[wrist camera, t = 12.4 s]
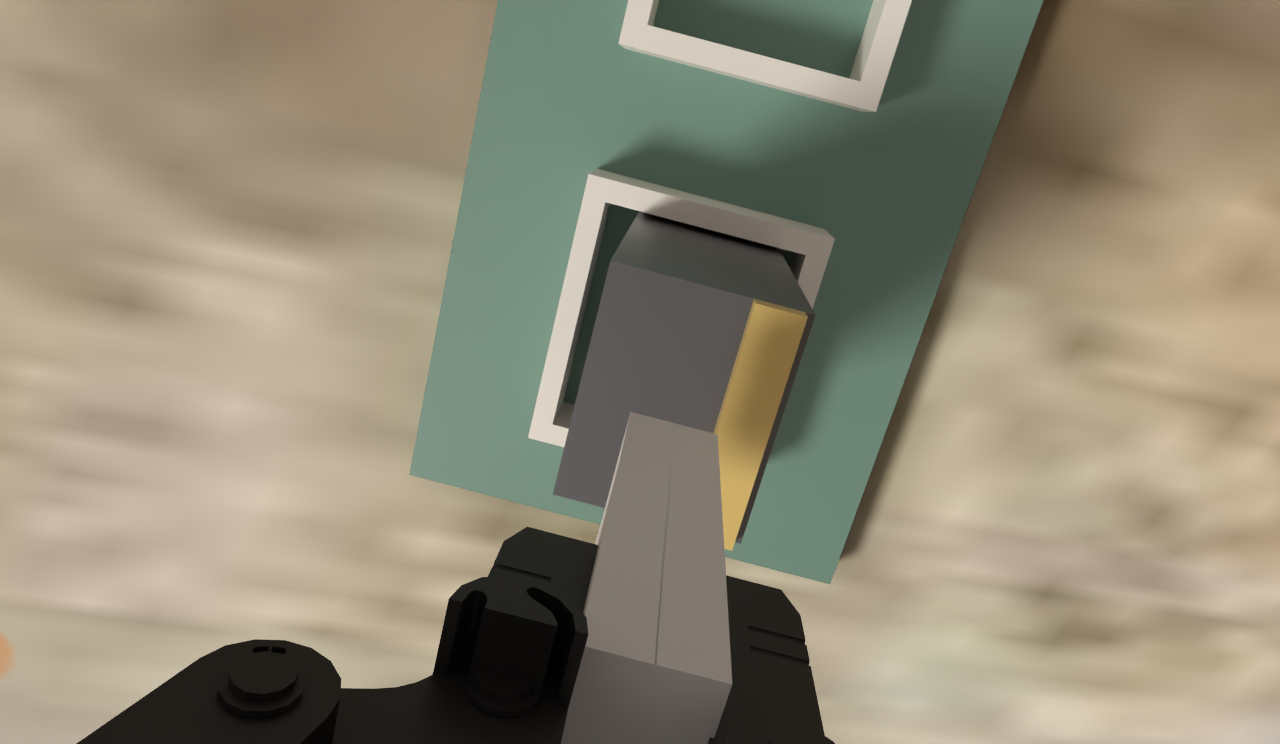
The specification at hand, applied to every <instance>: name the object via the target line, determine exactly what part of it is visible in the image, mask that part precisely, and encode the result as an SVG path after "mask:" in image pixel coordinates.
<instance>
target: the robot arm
mask: <svg viewBox="0 0 1280 744" xmlns="http://www.w3.org/2000/svg"><path fill="white" fill-rule="evenodd" d="M804 644H805V636H804V631H803V626H802V621H801V616H800V614H799V613H798V611H797V610H796V609H795V607H794V606H793V605H792V604H791V602H790V601H789V600H788V598H787V597H786V596H785V594H784V593H783V592H782V590H780V589H776V588H772V587H768V586H764V585H761V584H757V583H753V582H749V581H745V580H741V579H737V578H734V577H730V576H726V568H725V551H724V534H723V517H722V500H721V483H720V466H719V449H718V434H714V433H710V432H706V431H703V430H699V429H695V428H691V427H687V426H683V425H680V424H676V423H672V422H668V421H664V420H660V419H657V418H653V417H649V416H645V415H641V414H638V413H634V412H630V416H629V419H628V423H627V427H626V431H625V435H624V438H623V442H622V446H621V450H620V453H619V457H618V461H617V465H616V468H615V472H614V476H613V480H612V483H611V487H610V491H609V495H608V498H607V502H606V506H605V510H604V514H603V517H602V521H601V525H600V529H599V532H598V536H597V540H596V544H591V543H588V542H584V541H580V540H576V539H572V538H568V537H564V536H561V535H557V534H553V533H549V532H545V531H541V530H537V529H534V528H530V527H526V528H524V529H523V530H521V531H520V532H518V533H516V534H515V535H513V536H512V537H510V538H508V539H507V540H505V541H504V542H503V544H502V547H501V549H500V551H499V553H498V556H497V558H496V560H495V562H494V566H493V567H492V569H491V571H490V573H489V576H488V577H482V578H479V579H477V580H474V581H472V582H469V583H467V584H464V585H462V586H461V587H460V588H459V589H458V590H457V591H456V592H455V593H454V594H453V595H452V596H451V597H450V598H449V601H448V606H447V611H446V616H445V620H444V625H443V630H442V634H441V639H440V644H439V648H438V653H437V658H436V663H435V667H434V672H433V674H432V676H429V677H427V678H425V679H423V680H421V681H419V682H416V683H412V684H408V685H404V686H400V687H395V688H380V689H349V688H341V678H340V676H339V674H338V673H337V671H336V669H335V668H334V666H333V664H332V662H331V661H330V660H328V659H327V658H325V657H324V656H322V655H321V654H319V653H318V652H316V651H315V650H313V649H312V648H309V647H306V646H303V645H299V644H296V643H292V642H289V641H285V640H251V641H246V642H241V643H236V644H231V645H226V646H224V647H222V648H220V649H218V650H216V651H214V652H211V653H209V654H207V655H205V656H203V657H201V658H199V659H198V660H197V661H195V662H194V663H192V664H191V665H189V666H188V667H186V668H185V669H184V670H182V671H181V672H179V673H178V674H176V675H175V676H173V677H172V678H171V679H169V680H168V681H166V682H165V683H163V684H162V685H161V686H159V687H158V688H156V689H155V690H153V691H152V692H150V693H149V694H148V695H146V696H145V697H143V698H142V699H140V700H139V701H137V702H136V703H135V704H133V705H132V706H130V707H129V708H127V709H126V710H124V711H123V712H122V713H120V714H119V715H117V716H116V717H114V718H113V719H112V720H110V721H109V722H107V723H106V724H104V725H103V726H101V727H100V728H99V729H97V730H96V731H94V732H93V733H91V734H90V735H88V736H87V737H86V738H84V739H83V740H81V741H80V742H78V743H77V744H835V743H834V742H833V741H831V740H830V739H828V738H827V737H825V735H824V730H823V726H822V721H821V716H820V711H819V706H818V701H817V696H816V691H815V686H814V681H813V676H812V671H811V666H809V656H808V651H807V646H806V645H804Z"/></svg>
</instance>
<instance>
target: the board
mask: <svg viewBox="0 0 1280 744" xmlns="http://www.w3.org/2000/svg"><path fill="white" fill-rule="evenodd" d="M1042 3H1043V0H498V3H497V8H496V14H495V19H494V24H493V30H492V35H491V41H490V46H489V51H488V57H487V62H486V67H485V73H484V78H483V83H482V89H481V94H480V100H479V105H478V110H477V116H476V121H475V126H474V132H473V137H472V142H471V148H470V153H469V159H468V164H467V169H466V175H465V180H464V185H463V191H462V196H461V201H460V207H459V212H458V217H457V223H456V228H455V234H454V239H453V244H452V250H451V255H450V260H449V266H448V271H447V276H446V282H445V287H444V293H443V298H442V303H441V309H440V314H439V319H438V325H437V330H436V335H435V341H434V346H433V352H432V357H431V362H430V368H429V373H428V378H427V384H426V389H425V394H424V400H423V405H422V410H421V416H420V421H419V427H418V432H417V437H416V443H415V448H414V453H413V459H412V464H411V469H410V475H413V476H416V477H420V478H424V479H428V480H432V481H436V482H439V483H443V484H447V485H451V486H455V487H459V488H462V489H466V490H470V491H474V492H478V493H482V494H485V495H489V496H493V497H497V498H501V499H505V500H509V501H512V502H516V503H520V504H524V505H528V506H532V507H535V508H539V509H543V510H547V511H551V512H555V513H558V514H562V515H566V516H570V517H574V518H578V519H581V520H585V521H589V522H593V523H597V524H601V521H602V517H603V514H604V510H605V508H602V507H598V506H595V505H591V504H587V503H583V502H579V501H576V500H572V499H568V498H564V497H560V496H557V495H553V491H554V487H555V483H556V479H557V475H558V471H559V467H560V463H561V458H562V454H563V450H564V446H565V442H566V438H567V434H568V430H569V426H570V422H571V418H572V414H573V410H574V406H575V402H576V398H577V394H578V390H579V385H580V381H581V377H582V373H583V369H584V365H585V361H586V357H587V353H588V349H589V345H590V341H591V337H592V333H593V329H594V325H595V321H596V316H597V312H598V308H599V304H600V300H601V296H602V292H603V288H604V284H605V280H606V276H607V272H608V268H609V264H610V260H611V258H612V257H613V255H614V253H615V252H616V250H617V248H618V247H619V245H620V243H621V242H622V240H623V238H624V236H625V235H626V233H627V231H628V230H629V228H630V226H631V225H632V223H633V221H634V219H635V218H636V216H637V214H638V213H639V211H641V212H644V213H648V214H652V215H656V216H660V217H663V218H667V219H671V220H675V221H679V222H682V223H686V224H690V225H694V226H697V227H701V228H705V229H709V230H713V231H716V232H720V233H724V234H728V235H732V236H735V237H739V238H743V239H747V240H750V241H754V242H758V243H762V244H766V245H769V246H773V247H777V248H779V250H780V251H781V253H782V255H783V257H784V259H785V260H786V262H787V264H788V266H789V268H790V270H791V271H792V273H793V275H794V277H795V279H796V280H797V282H798V284H799V286H800V288H801V289H802V291H803V293H804V295H805V297H806V299H807V300H808V302H809V304H810V306H811V308H812V309H813V311H814V313H815V318H814V321H813V325H812V328H811V331H810V334H809V337H808V340H807V343H806V346H805V349H804V352H803V355H802V358H801V361H800V364H799V367H798V370H797V374H796V377H795V380H794V383H793V386H792V389H791V392H790V395H789V398H788V401H787V404H786V407H785V410H784V413H783V416H782V419H781V423H780V426H779V429H778V432H777V435H776V438H775V441H774V444H773V447H772V450H771V453H770V456H769V459H768V462H767V465H766V468H765V471H764V475H763V478H762V481H761V484H760V487H759V490H758V493H757V496H756V499H755V502H754V505H753V508H752V511H751V514H750V517H749V520H748V524H747V527H746V530H745V533H744V536H743V539H742V542H741V544H739V543H736V542H735V544H734V547H733V550H732V551H731V550H727V549H724V551H725V557H727V558H731V559H735V560H739V561H743V562H747V563H750V564H754V565H758V566H762V567H766V568H770V569H773V570H777V571H781V572H785V573H789V574H793V575H796V576H800V577H804V578H808V579H812V580H816V581H820V582H823V583H827V584H830V583H831V580H832V577H833V575H834V572H835V569H836V566H837V564H838V561H839V558H840V556H841V553H842V550H843V547H844V545H845V542H846V539H847V536H848V534H849V531H850V528H851V525H852V523H853V520H854V517H855V515H856V512H857V509H858V506H859V504H860V501H861V498H862V495H863V493H864V490H865V487H866V484H867V482H868V479H869V476H870V474H871V471H872V468H873V465H874V463H875V460H876V457H877V454H878V452H879V449H880V446H881V443H882V441H883V438H884V435H885V432H886V430H887V427H888V424H889V422H890V419H891V416H892V413H893V411H894V408H895V405H896V402H897V400H898V397H899V394H900V391H901V389H902V386H903V383H904V381H905V378H906V375H907V372H908V370H909V367H910V364H911V361H912V359H913V356H914V353H915V350H916V348H917V345H918V342H919V340H920V337H921V334H922V331H923V329H924V326H925V323H926V320H927V318H928V315H929V312H930V309H931V307H932V304H933V301H934V298H935V296H936V293H937V290H938V288H939V285H940V282H941V279H942V277H943V274H944V271H945V268H946V266H947V263H948V260H949V257H950V255H951V252H952V249H953V247H954V244H955V241H956V238H957V236H958V233H959V230H960V227H961V225H962V222H963V219H964V216H965V214H966V211H967V208H968V206H969V203H970V200H971V197H972V195H973V192H974V189H975V186H976V184H977V181H978V178H979V175H980V173H981V170H982V167H983V164H984V162H985V159H986V156H987V154H988V151H989V148H990V145H991V143H992V140H993V137H994V134H995V132H996V129H997V126H998V123H999V121H1000V118H1001V115H1002V113H1003V110H1004V107H1005V104H1006V102H1007V99H1008V96H1009V93H1010V91H1011V88H1012V85H1013V82H1014V80H1015V77H1016V74H1017V71H1018V69H1019V66H1020V63H1021V61H1022V58H1023V55H1024V52H1025V50H1026V47H1027V44H1028V41H1029V39H1030V36H1031V33H1032V30H1033V28H1034V25H1035V22H1036V20H1037V17H1038V14H1039V11H1040V9H1041V6H1042Z"/></svg>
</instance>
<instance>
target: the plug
mask: <svg viewBox="0 0 1280 744" xmlns="http://www.w3.org/2000/svg"><path fill="white" fill-rule="evenodd" d="M814 318H815V313H814V311H813V309H812V308H811V306H810V304H809V302H808V300H807V299H806V297H805V295H804V293H803V291H802V289H801V288H800V286H799V284H798V282H797V280H796V279H795V277H794V275H793V273H792V271H791V270H790V268H789V266H788V264H787V262H786V260H785V259H784V257H783V255H782V253H781V251H780V250H779V248H777V247H773V246H769V245H766V244H762V243H758V242H754V241H750V240H747V239H743V238H739V237H735V236H732V235H728V234H724V233H720V232H716V231H713V230H709V229H705V228H701V227H697V226H694V225H690V224H686V223H682V222H679V221H675V220H671V219H667V218H663V217H660V216H656V215H652V214H648V213H644V212H641V211H639V213H638V214H637V216H636V218H635V219H634V221H633V223H632V225H631V226H630V228H629V230H628V231H627V233H626V235H625V236H624V238H623V240H622V242H621V243H620V245H619V247H618V248H617V250H616V252H615V253H614V255H613V257H612V258H611V260H610V264H609V268H608V272H607V276H606V280H605V284H604V288H603V292H602V296H601V300H600V304H599V308H598V312H597V316H596V321H595V325H594V329H593V333H592V337H591V341H590V345H589V349H588V353H587V357H586V361H585V365H584V369H583V373H582V377H581V381H580V385H579V390H578V394H577V398H576V402H575V406H574V410H573V414H572V418H571V422H570V426H569V430H568V434H567V438H566V442H565V446H564V450H563V454H562V458H561V463H560V467H559V471H558V475H557V479H556V483H555V487H554V491H553V495H557V496H560V497H564V498H568V499H572V500H576V501H579V502H583V503H587V504H591V505H595V506H598V507H602V508H605V506H606V502H607V498H608V495H609V491H610V487H611V483H612V480H613V476H614V472H615V468H616V465H617V461H618V457H619V453H620V450H621V446H622V442H623V438H624V435H625V431H626V427H627V423H628V419H629V416H630V412H634V413H638V414H641V415H645V416H649V417H653V418H657V419H660V420H664V421H668V422H672V423H676V424H680V425H683V426H687V427H691V428H695V429H699V430H703V431H706V432H710V433H714V434H718V449H719V466H720V483H721V500H722V517H723V534H724V549H727V550H731V551H732V550H733V547H734V544H735V542H736V543H739V544H741V542H742V539H743V536H744V533H745V530H746V527H747V524H748V520H749V517H750V514H751V511H752V508H753V505H754V502H755V499H756V496H757V493H758V490H759V487H760V484H761V481H762V478H763V475H764V471H765V468H766V465H767V462H768V459H769V456H770V453H771V450H772V447H773V444H774V441H775V438H776V435H777V432H778V429H779V426H780V423H781V419H782V416H783V413H784V410H785V407H786V404H787V401H788V398H789V395H790V392H791V389H792V386H793V383H794V380H795V377H796V374H797V370H798V367H799V364H800V361H801V358H802V355H803V352H804V349H805V346H806V343H807V340H808V337H809V334H810V331H811V328H812V325H813V321H814Z"/></svg>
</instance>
